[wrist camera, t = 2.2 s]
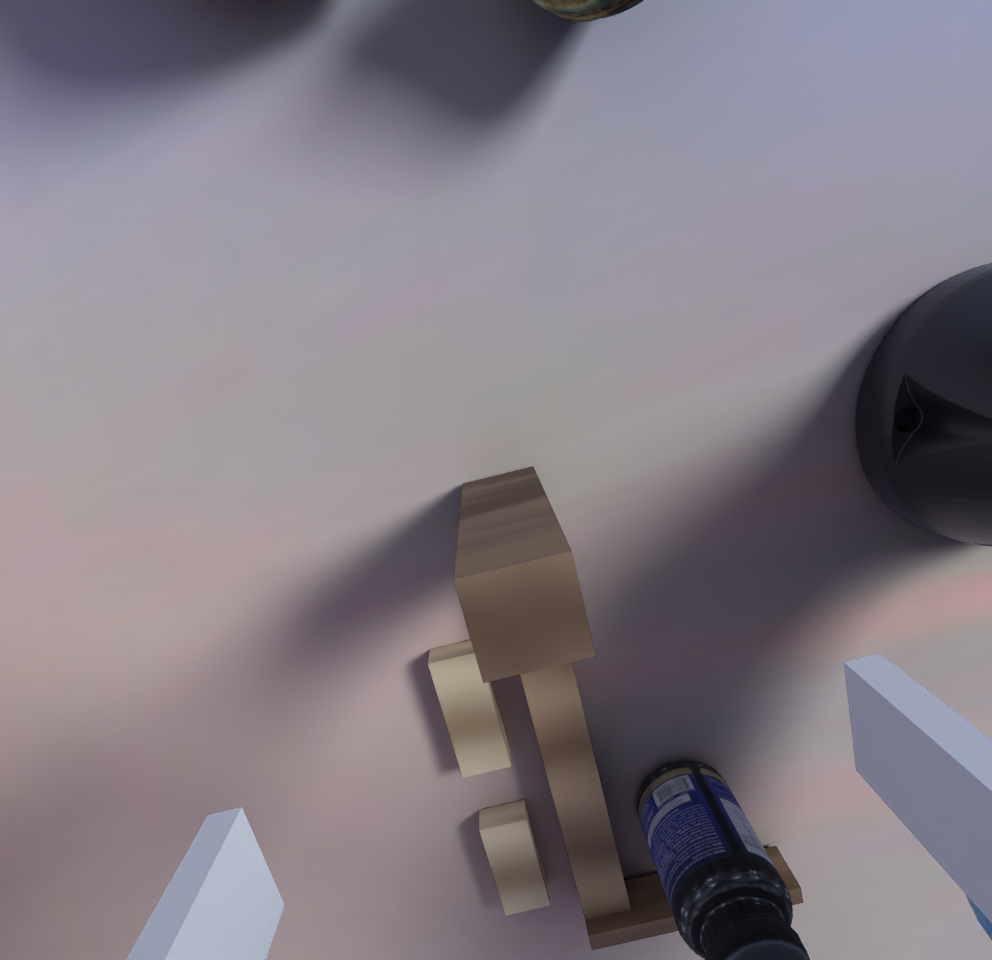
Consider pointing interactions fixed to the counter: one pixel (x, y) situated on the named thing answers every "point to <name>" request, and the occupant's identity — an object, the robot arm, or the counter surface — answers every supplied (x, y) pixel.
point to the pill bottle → (715, 868)
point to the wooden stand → (553, 686)
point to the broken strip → (487, 751)
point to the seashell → (586, 8)
